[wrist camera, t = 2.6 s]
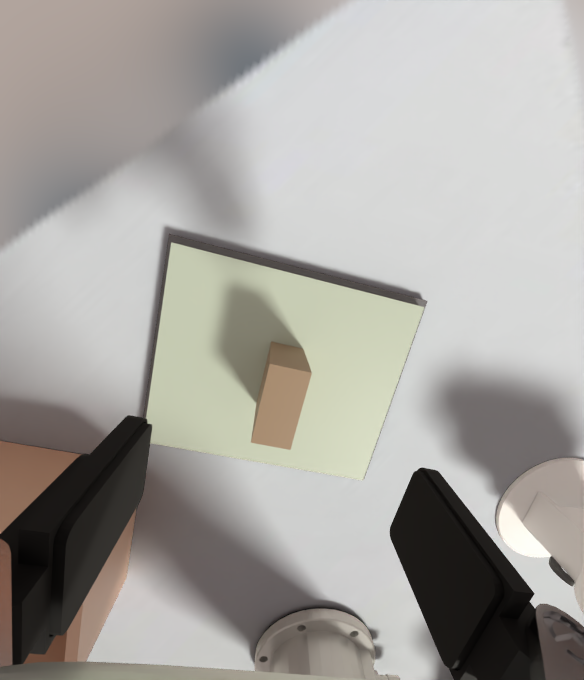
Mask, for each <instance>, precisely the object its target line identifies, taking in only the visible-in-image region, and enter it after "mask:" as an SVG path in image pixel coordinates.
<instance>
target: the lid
mask: <svg viewBox="0 0 584 680" xmlns="http://www.w3.org/2000/svg"><path fill="white" fill-rule="evenodd" d="M423 310H424V307H422V306H418V305H414V304H410V303H406V302H402V301H398V300H394V299H391V298H387V297H383V296H379V295H375V294H371V293H367V292H363V291H359V290H355V289H351V288H348V287H344V286H340V285H336V284H332V283H328V282H324V281H320V280H316V279H312V278H309V277H305V276H301V275H297V274H293V273H289V272H285V271H281V270H277V269H273V268H269V267H266V266H262V265H258V264H254V263H250V262H246V261H242V260H238V259H234V258H230V257H227V256H223V255H219V254H215V253H211V252H207V251H203V250H199V249H195V248H191V247H187V246H184V245H180V244H176V243H172V242H171V247H170V254H169V261H168V268H167V275H166V282H165V289H164V296H163V303H162V310H161V317H160V324H159V331H158V338H157V345H156V352H155V359H154V366H153V373H152V380H151V387H150V394H149V401H148V408H147V415H146V419H147V421H148V422H147V424H152V433H151V440H150V443H151V444H157V445H163V446H169V447H174V448H180V449H186V450H191V451H197V452H203V453H209V454H214V455H220V456H226V457H231V458H237V459H243V460H249V461H254V462H260V463H266V464H272V465H277V466H283V467H289V468H294V469H300V470H306V471H312V472H317V473H323V474H329V475H334V476H340V477H346V478H352V479H357V480H363V479H364V476H365V473H366V470H367V468H368V465H369V462H370V459H371V456H372V454H373V451H374V448H375V445H376V442H377V440H378V437H379V434H380V431H381V428H382V426H383V423H384V420H385V417H386V414H387V411H388V409H389V406H390V403H391V400H392V397H393V395H394V392H395V389H396V386H397V383H398V381H399V378H400V375H401V372H402V369H403V366H404V364H405V361H406V358H407V355H408V352H409V350H410V347H411V344H412V341H413V338H414V336H415V333H416V330H417V327H418V324H419V322H420V319H421V316H422V313H423Z"/></svg>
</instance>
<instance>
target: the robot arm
mask: <svg viewBox="0 0 584 680" xmlns="http://www.w3.org/2000/svg"><path fill="white" fill-rule="evenodd" d="M147 422H148V421H147V419H146V418H141V417H135V416H127V417H126V418H125V419H124V420H123V421H122V422H121V423H120V424H119V425H118V426H117V427H116V428H115V429H114V430H113V431H112V432H111V433H110V434H109V435H108V436H107V437H106V438H105V439H104V440H103V441H102V443H101V444H100V445H99V446H98V447H97V448H96V449H95V450H94V451H93V452H92V453H91V454H90V455H89V454H82V455H80V456H79V457H78V458H76V459H75V460H74V461H73V462H72V463H71V464H70V465H69V466H68V467H67V468H66V469H65V470H64V471H63V472H62V473H61V474H60V475H59V476H58V477H57V478H56V479H55V480H54V481H53V482H52V483H51V484H50V485H49V486H48V487H47V488H46V489H45V490H44V491H43V492H42V493H41V494H40V495H39V496H38V497H37V498H36V499H35V500H34V501H33V502H32V503H31V504H30V505H29V506H28V507H27V508H26V509H25V510H24V511H23V512H22V513H21V514H20V515H19V516H18V517H17V518H16V519H15V520H14V521H13V522H12V523H11V524H10V525H9V526H8V527H7V528H6V529H5V530H4V531H3V532H2V533H1V534H0V680H400V678H399V676H398V675H388V674H386V675H379V674H378V672H377V671H376V670H374V668H373V666H374V662H375V648H374V644H373V640H372V636H371V634H370V632H369V630H368V629H367V627H366V626H365V625H364V624H363V623H362V622H361V621H360V620H358V619H357V618H356V617H354V616H352V615H350V614H348V613H346V612H342V611H339V610H335V609H326V608H319V609H308V610H302V611H299V612H296V613H293V614H290V615H288V616H286V617H284V618H282V619H280V620H279V621H277V622H276V623H274V624H273V625H272V626H271V627H270V628H269V629H268V630H267V631H266V632H265V633H264V634H263V635H262V637H261V638H260V640H259V642H258V645H257V647H256V652H255V671H243V670H228V669H214V668H199V667H184V666H169V665H150V664H128V663H106V662H36V663H27V664H23V663H24V662H25V660H26V659H27V657H28V655H29V654H42V655H45V654H46V652H47V650H48V648H49V647H50V645H51V643H52V642H53V640H54V638H55V636H56V635H60V636H63V635H64V634H65V633H66V631H67V630H68V628H69V627H70V625H71V623H72V621H73V620H74V618H75V616H76V614H77V613H78V611H79V609H80V607H81V605H82V604H83V602H84V600H85V598H86V597H87V595H88V593H89V591H90V589H91V588H92V586H93V584H94V582H95V581H96V579H97V577H98V575H99V573H100V572H101V570H102V568H103V566H104V565H105V563H106V561H107V559H108V557H109V556H110V554H111V552H112V550H113V549H114V547H115V545H116V543H117V541H118V540H119V538H120V536H121V534H122V533H123V531H124V529H125V527H126V525H127V524H128V522H129V520H130V518H131V516H132V515H133V513H134V511H135V509H136V508H137V506H138V504H139V502H140V500H141V497H142V494H143V490H144V483H145V476H146V469H147V462H148V455H149V447H150V440H151V433H152V424H147ZM390 537H391V540H392V543H393V545H394V547H395V550H396V552H397V555H398V557H399V559H400V562H401V564H402V566H403V569H404V571H405V574H406V576H407V578H408V581H409V583H410V585H411V588H412V590H413V593H414V595H415V597H416V600H417V602H418V604H419V607H420V609H421V611H422V614H423V616H424V619H425V621H426V623H427V626H428V628H429V630H430V633H431V635H432V638H433V640H434V642H435V645H436V647H437V649H438V652H439V654H440V656H441V659H442V661H443V663H444V664H445V665H446V666H447V667H448V668H449V669H450V671H451V674H452V676H453V678H454V680H584V627H583V626H582V625H581V624H580V623H579V622H577V621H576V620H575V619H573V618H572V617H571V616H569V615H568V614H567V613H565V612H563V611H562V610H560V609H558V608H556V607H554V606H551V605H548V604H539V605H538V606H537V607H536V608H534V607H533V606H532V604H531V603H530V602H529V601H530V600H531V598H532V597H533V595H534V592H533V591H532V590H531V589H530V587H529V586H528V585H527V583H526V582H525V581H524V580H523V578H522V577H521V576H520V575H519V573H518V572H517V571H516V569H515V568H514V567H513V566H512V564H511V563H510V562H509V561H508V559H507V558H506V557H505V555H504V554H503V553H502V552H501V550H500V549H499V548H498V547H497V545H496V544H495V543H494V542H493V540H492V539H491V538H490V536H489V535H488V534H487V533H486V531H485V530H484V529H483V528H482V526H481V525H480V524H479V522H478V521H477V520H476V519H475V517H474V516H473V515H472V514H471V512H470V511H469V510H468V508H467V507H466V506H465V505H464V503H463V502H462V501H461V500H460V498H459V497H458V496H457V494H456V493H455V492H454V491H453V489H452V488H451V487H450V486H449V484H448V483H447V482H446V480H445V479H444V478H443V477H442V475H441V474H440V473H439V472H438V471H436V470H432V469H426V468H419V469H418V471H415V472H414V473H413V475H412V477H411V480H410V482H409V485H408V487H407V489H406V492H405V494H404V496H403V499H402V501H401V503H400V506H399V508H398V510H397V513H396V515H395V517H394V520H393V522H392V525H391V527H390Z"/></svg>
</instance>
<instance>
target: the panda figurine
mask: <svg viewBox="0 0 584 680" xmlns="http://www.w3.org/2000/svg"><path fill="white" fill-rule="evenodd" d="M496 525H497V530H498V532H499V535H500V536H501V538H502V539H503V541H504V542H505V543H506V544H507V545H508V546H509V547H510V548H511V549H512V550H514V551H515V552H517V553H519V554H522V555H525V556H530V557H550V556H551V557H550V559H549V565H550V567H551V568H552V570H553V571H554V572H555V573H556V574H557V575H558V576H559V577H560V578H561V579H562V580H564V581H565V582H566V583H567V584H569V585H570V586H573V585H574V592H575V596H576V599H577V602H578V604H579V606H580V608H581V610H582V612H583V614H584V460H583V459H578V458H559V459H554V460H550V461H546V462H544V463H541V464H539V465H537V466H535V467H533V468H531V469H529V470H528V471H526V472H525V473H523V474H522V475H521V476H520V477H518V478H517V479H516V480H515V481H514V482H513V483H512V484H511V485H510V487H509V488H508V489H507V490H506V492H505V493H504V495H503V497H502V499H501V501H500V503H499V506H498V509H497V514H496ZM561 567H562V568H563V569H564V570H565V571H566V572H567V573H568V574H569V575H568V574H567V573H565V572H564V571H563V569H562V568H561ZM574 581H575V582H574ZM574 583H575V584H574Z"/></svg>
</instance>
